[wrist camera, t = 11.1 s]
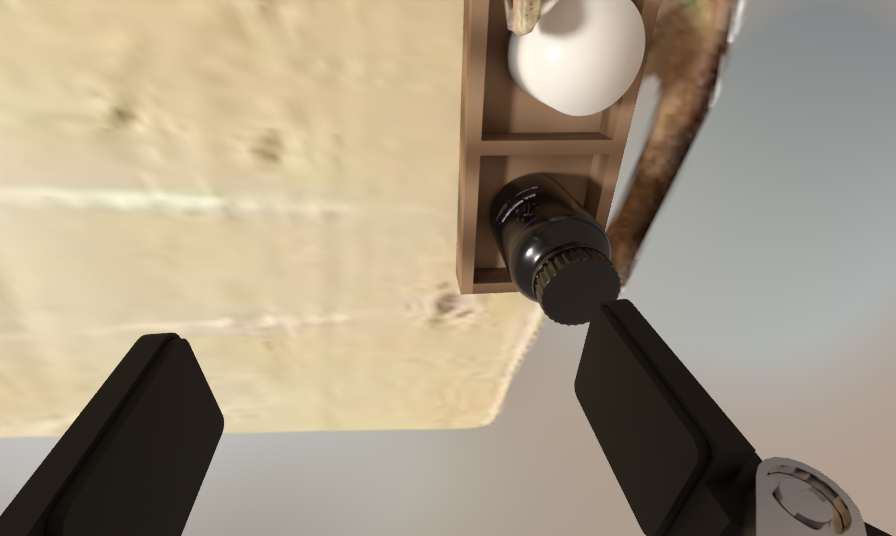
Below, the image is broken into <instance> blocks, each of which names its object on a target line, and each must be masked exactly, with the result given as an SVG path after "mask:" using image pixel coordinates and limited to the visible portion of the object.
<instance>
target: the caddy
mask: <svg viewBox="0 0 896 536" xmlns="http://www.w3.org/2000/svg"><path fill="white" fill-rule="evenodd" d="M631 1H632V2H633V3H634V5H635V6H636V8H637V9H638V11H639V13H640V15H641V17H642V21H643V24H644V30H645V50H644V56H643V60H642V63H641V66H640V69H639V71H638V73H637V75H636V77H635V79H634V81H633V82H632V84H631V85H630V87H629V88H628V90H627V91H626V92H625V93H624V94H623V95H622V96H621V97H620V98H619V99H618V100H617V101H616V102H615V103H613V104H612V105H611V106H609V107H608V108H606V109H604V110H602V111H600V112H597V113H594V114H591V115H586V116H572V115H568V114H565V113H562V112H560V111H558V110H556V109H554V108H552V107H550V106H548V105H546V104H544V103H542V102H540V101H538V100H536V99H534V98H532V97H530V96H529V95H527V94H525V93H523V92H522V91H521V90H519V89H518V88H517V87H516V86H515V85H514V83H513V82H512V80H511V78H510V76H509V74H508V71H507V68H506V63H505V47H506V41H507V37H508V35H509V32H510V30H509V29H508V26H507V19H506V12H505V6H504V0H464V25H463V59H462V92H461V125H460V159H459V192H458V226H457V259H456V275H457V279H458V284H459V288H460V293H461V294H482V293H504V292H519V291H518V290H517V288H516V287H515V285H514V284H513V282H512V280H511V278H510V275H509V273H508V271H507V268H506V266H505V263H504V261H503V258H502V256H501V253H500V251H499V249H498V246H497V244H496V241H495V239H494V236H493V234H492V231H491V228H490V224H489V211H490V207H491V204H492V201H493V199H494V197H495V196H496V194H497V193H498V192H499V191H500V189H501V188H502V187H503V186H505V185H506V184H507V183H508V182H510V181H512V180H513V179H515V178H518V177H520V176H524V175H529V174H540V175H545V176H549V177H551V178H553V179H555V180H556V181H558V182H559V183H560V184H561V185H562V186H563V187H564V188H565V189H566V190H567V191H568V192H569V193H570V194H571V195H572V196H573V197H574V198H575V199H576V200H577V201H578V202H579V203H580V204H581V205H582V206H583V207H584V208H585V209H586V210H587V211H588V212H589V213H590V215H591V216H592V217H593V218H594V219H595V220H596V221H597V222H598V223H599V224H600V225H601V226H602V228H603V229H604V230H605V228H606V224H607V220H608V215H609V211H610V207H611V203H612V198H613V195H614V191H615V186H616V182H617V178H618V174H619V169H620V166H621V161H622V157H623V153H624V149H625V145H626V141H627V137H628V132H629V128H630V124H631V120H632V116H633V111H634V107H635V103H636V99H637V95H638V91H639V87H640V83H641V78H642V74H643V70H644V66H645V62H646V58H647V53H648V49H649V45H650V41H651V37H652V33H653V29H654V24H655V20H656V16H657V12H658V8H659V4H660V0H631ZM510 2H511V3H512V5H513V0H511V1H510Z"/></svg>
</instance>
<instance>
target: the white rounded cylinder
mask: <svg viewBox="0 0 896 536" xmlns="http://www.w3.org/2000/svg"><path fill="white" fill-rule="evenodd" d="M644 50H645V30H644V24H643V21H642V17H641V15H640V13H639V11H638V9H637V8H636V6H635V5H634V3H633V2H632V1H631V0H542V3H541V13H540V19H539V20H538V22H537V23H536V25H535V27H534V29H533V31H532V32H530V33H528V34H526V35H523V36H518V35H517V34H515V33H514V32H513V31H511V30H510V32H509V35H508V37H507V41H506V47H505V63H506V68H507V71H508V74H509V76H510V78H511V80H512V82H513V83H514V85H515V86H516V87H517V88H518V89H519V90H521V91H522V92H523V93H525V94H527V95H529V96H530V97H532V98H534V99H536V100H538V101H540V102H542V103H544V104H546V105H548V106H550V107H552V108H554V109H556V110H558V111H560V112H562V113H565V114H568V115H572V116H586V115H591V114H594V113H597V112H600V111H602V110H604V109H606V108H608V107H609V106H611V105H612V104H613V103H615V102H616V101H617V100H618V99H619V98H620V97H621V96H622V95H623V94H624V93H625V92H626V91H627V90H628V88H629V87H630V85H631V84H632V82H633V81H634V79H635V77H636V75H637V73H638V71H639V69H640V66H641V63H642V60H643V56H644Z"/></svg>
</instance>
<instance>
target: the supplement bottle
mask: <svg viewBox="0 0 896 536" xmlns="http://www.w3.org/2000/svg"><path fill="white" fill-rule="evenodd" d="M489 224H490V228H491V231H492V234H493V236H494V239H495V241H496V244H497V246H498V249H499V251H500V253H501V256H502V258H503V261H504V263H505V266H506V268H507V271H508V273H509V275H510V278H511V280H512V282H513V284H514V285H515V287H516V288H517V290H518V291H519V292H520V293H521V294H522V295H524V296H525V297H526V298H528V299H530V300H532V301H534V302H537V303H539V304H540V306H541V308H542V309H543V311H544V313H545V314H546V315H547V316H548V317H549V318H550V319H552V320H554V321H555V322H558V323H560V324H566V325H568V326H569V325H578V324H584V323H586V322H590V321H591V317H592V313H593V310H594V308H596V307H599V305H600V303H601V302H602V301H606V300H616V299H617V298H618V294H619V292H620V286H621V283H620V276H619V275H618V271H617V270H616V268H615V267H614V266H613V265H612V263H611V244H610V240H609V237H608V235H607V233H606V232H605V230H604V229H603V228H602V226H601V225H600V224H599V223H598V222H597V221H596V220H595V219H594V218H593V217H592V216H591V215H590V213H589V212H588V211H587V210H586V209H585V208H584V207H583V206H582V205H581V204H580V203H579V202H578V201H577V200H576V199H575V198H574V197H573V196H572V195H571V194H570V193H569V192H568V191H567V190H566V189H565V188H564V187H563V186H562V185H561V184H560V183H559V182H558V181H556V180H555V179H553V178H551V177H549V176H545V175H540V174H529V175H524V176H520V177H518V178H515V179H513V180H512V181H510V182H508V183H507V184H506V185H505V186H503V187H502V188H501V189H500V191H499V192H498V193H497V194H496V196H495V197H494V199H493V201H492V204H491V207H490V211H489Z"/></svg>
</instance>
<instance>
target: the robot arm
mask: <svg viewBox="0 0 896 536" xmlns="http://www.w3.org/2000/svg"><path fill="white" fill-rule="evenodd" d="M575 392H576V396H577V398H578V400H579V402H580V404H581V406H582V409H583V411H584V413H585V415H586V417H587V419H588V421H589V423H590V425H591V427H592V429H593V431H594V433H595V435H596V437H597V439H598V441H599V443H600V445H601V447H602V449H603V452H604V454H605V456H606V458H607V460H608V462H609V464H610V466H611V468H612V470H613V472H614V474H615V476H616V478H617V480H618V482H619V484H620V486H621V488H622V490H623V492H624V494H625V497H626V499H627V501H628V503H629V504H630V507H631V509H632V511H633V513H634V515H635V517H636V519H637V521H638V523H639V525H640V527H641V529H642V531H643V532H644V534H645V535H646V536H891V535H889V534H887V533H885V532H883V531H881V530H879V529H877V528H875V527H873V526H871V525H869V524H867V523H865V522H864V521H863V519H862V516H861V514H860V511H859V509H858V508H857V506H856V505H855V504H854V502H853V501H852V500H851V498H850V497H849V496H848V494H847V493H846V492H844V491H843V490H842V489H841V488H840V487H839V486H838V485H837V484H836V483H835V482H834V481H832V480H831V479H829V478H828V477H827V476H825V475H824V474H823V473H821V472H820V471H818V470H816V469H814V468H812V467H810V466H808V465H806V464H804V463H802V462H799V461H796V460H792V459H789V458H781V457H773V458H769V459H765V460H764V461H762V460H761V459H760V457H759V456H758V455H757V454H756V453H755V449H754V448H753V447H752V445H751V444H750V443H749V442H748V441H747V439H746V438H745V437H744V436H743V435H742V434H741V432H740V431H739V430H738V429H737V428H736V426H735V425H734V424H733V423H732V422H731V420H730V419H729V418H728V417H727V416H726V414H725V413H724V412H723V411H722V410H721V408H720V407H719V406H718V405H717V404H716V403H715V401H714V400H713V399H712V398H711V397H710V395H709V394H708V393H707V392H706V391H705V389H704V388H703V387H702V386H701V385H700V384H699V382H698V381H697V380H696V379H695V378H694V376H693V375H692V374H691V373H690V372H689V370H688V369H687V368H686V367H685V366H684V364H683V363H682V362H681V361H680V360H679V358H678V357H677V356H676V355H675V354H674V353H673V351H672V350H671V349H670V348H669V347H668V345H667V344H666V343H665V342H664V341H663V340H662V338H661V337H660V336H659V335H658V334H657V332H656V331H655V330H654V329H653V328H652V326H651V325H650V324H649V323H648V322H647V320H646V319H645V318H644V317H643V316H642V315H641V313H640V312H639V311H638V310H637V308H636V307H635V306H634V305H633V304H632V303H631V302H630V301H629V300H627V299H619V300H606V301H602V302H601V303H600V305H599V307H596V308H594V310H593V313H592V317H591V321H590V324H589V328H588V332H587V336H586V340H585V344H584V348H583V352H582V356H581V360H580V363H579V367H578V372H577V375H576V379H575ZM223 428H224V418H223V415H222V413H221V410H220V408H219V406H218V404H217V402H216V400H215V398H214V396H213V393H212V391H211V389H210V387H209V385H208V383H207V381H206V378H205V376H204V374H203V372H202V370H201V368H200V366H199V364H198V361H197V359H196V357H195V355H194V353H193V351H192V349H191V346H190V344H189V342H188V341H187V340H186V339H181V338H180V337H179V335H177V334H176V333H160V334H147V335H143V336H141V337H140V338H139V339H138V340H137V341H136V343H135V344H134V345H133V346H132V348H131V349H130V350H129V352H128V353H127V354H126V355H125V357H124V358H123V359H122V361H121V362H120V363H119V364H118V366H117V367H116V368H115V370H114V371H113V372H112V373H111V375H110V376H109V377H108V379H107V380H106V381H105V382H104V384H103V385H102V386H101V388H100V389H99V390H98V391H97V393H96V394H95V395H94V397H93V398H92V399H91V400H90V402H89V403H88V404H87V405H86V407H85V408H84V409H83V411H82V412H81V413H80V414H79V416H78V417H77V418H76V420H75V421H74V422H73V423H72V425H71V426H70V427H69V429H68V430H67V431H66V432H65V434H64V435H63V436H62V438H61V439H60V440H59V441H58V443H57V444H56V445H55V447H54V448H53V449H52V450H51V452H50V453H49V454H48V456H47V457H46V458H45V459H44V461H43V462H42V464H41V465H40V466H39V467H38V468H37V470H36V471H35V472H34V474H33V475H32V476H31V477H30V479H29V480H28V481H27V483H26V484H25V485H24V486H23V488H22V489H21V490H20V491H19V493H18V494H17V495H16V497H15V498H14V499H13V500H12V502H11V503H10V504H9V506H8V507H7V508H6V509H5V511H4V512H3V513H2V515H1V516H0V536H181V534H182V532H183V529H184V527H185V524H186V522H187V520H188V517H189V514H190V512H191V510H192V507H193V505H194V502H195V500H196V497H197V494H198V492H199V490H200V487H201V485H202V482H203V480H204V477H205V475H206V472H207V470H208V467H209V465H210V462H211V460H212V457H213V455H214V452H215V450H216V447H217V445H218V442H219V440H220V438H221V435H222V432H223Z"/></svg>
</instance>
